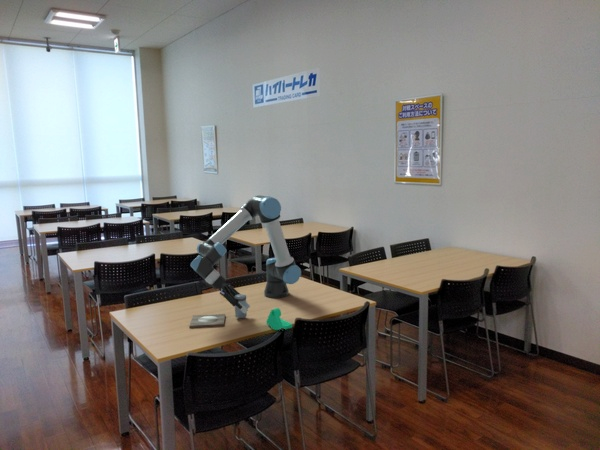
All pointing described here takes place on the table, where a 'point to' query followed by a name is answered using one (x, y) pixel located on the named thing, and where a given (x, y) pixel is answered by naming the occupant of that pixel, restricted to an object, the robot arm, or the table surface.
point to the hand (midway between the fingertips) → (247, 309)
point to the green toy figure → (277, 320)
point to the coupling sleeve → (242, 300)
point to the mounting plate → (207, 321)
